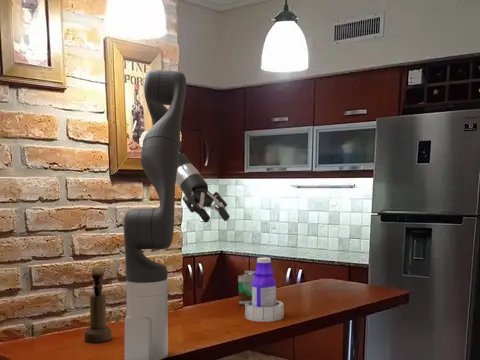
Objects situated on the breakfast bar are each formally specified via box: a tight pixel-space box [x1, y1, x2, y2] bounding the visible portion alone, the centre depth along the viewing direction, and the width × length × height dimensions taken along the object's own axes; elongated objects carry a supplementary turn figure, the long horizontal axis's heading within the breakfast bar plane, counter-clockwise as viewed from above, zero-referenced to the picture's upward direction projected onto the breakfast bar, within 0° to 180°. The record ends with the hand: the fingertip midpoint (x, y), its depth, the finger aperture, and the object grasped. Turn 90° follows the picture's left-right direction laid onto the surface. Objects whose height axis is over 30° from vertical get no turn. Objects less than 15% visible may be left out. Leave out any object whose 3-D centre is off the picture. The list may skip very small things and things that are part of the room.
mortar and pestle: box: [84, 267, 113, 344], centre depth 129 cm, size 7×6×18 cm
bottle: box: [252, 256, 277, 307], centre depth 151 cm, size 7×6×17 cm
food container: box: [237, 270, 255, 307], centre depth 170 cm, size 12×6×10 cm, turn 168°
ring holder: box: [244, 300, 285, 323], centre depth 150 cm, size 11×11×4 cm
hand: (218, 219), depth 150 cm, fingers open, 8 cm apart
